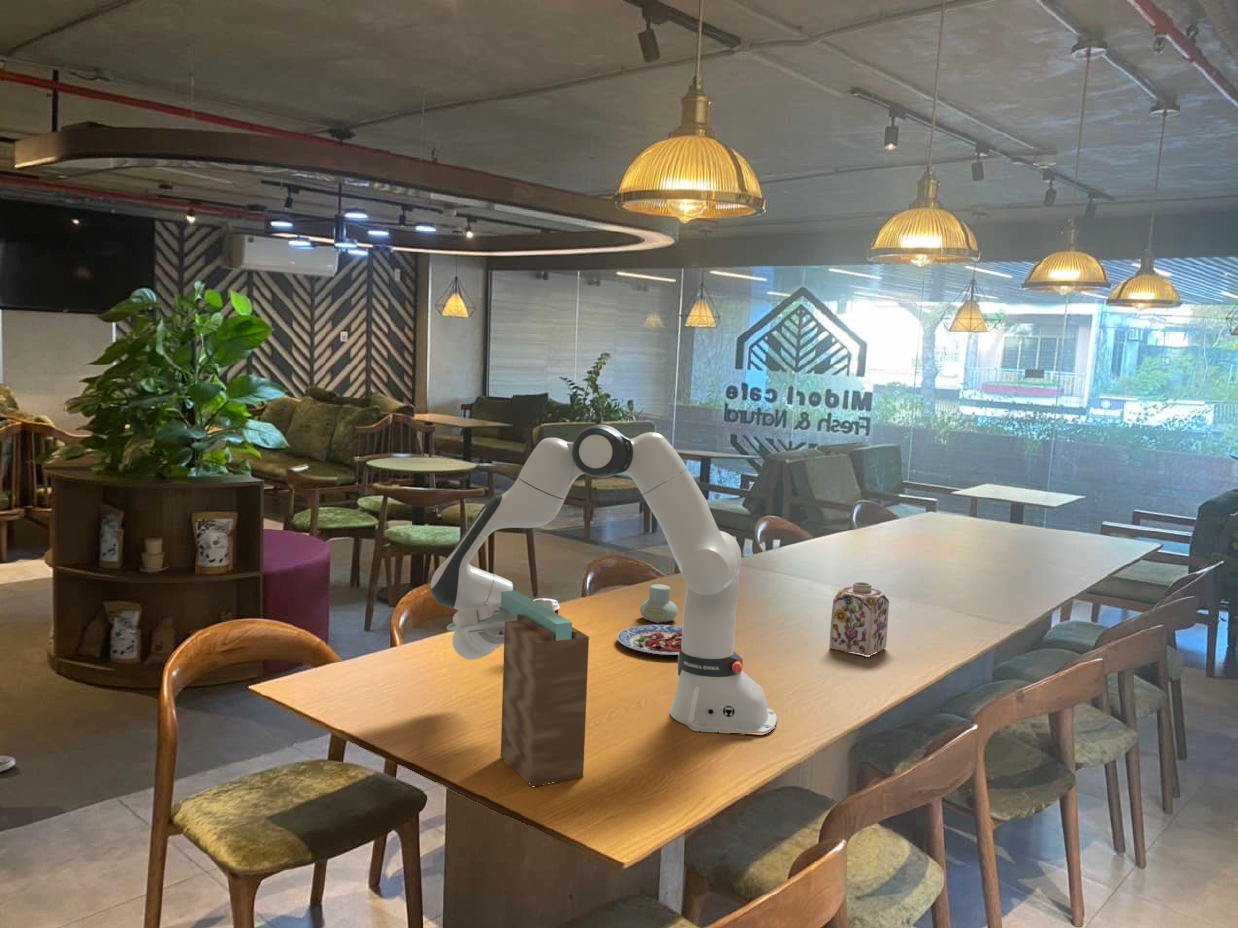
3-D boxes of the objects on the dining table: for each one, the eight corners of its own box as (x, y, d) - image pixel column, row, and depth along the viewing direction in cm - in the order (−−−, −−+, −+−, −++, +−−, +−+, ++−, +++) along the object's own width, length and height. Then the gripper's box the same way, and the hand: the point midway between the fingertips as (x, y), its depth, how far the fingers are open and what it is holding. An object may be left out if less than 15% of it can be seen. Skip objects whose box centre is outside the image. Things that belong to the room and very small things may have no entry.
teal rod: (500, 606, 188) (501, 591, 187) (514, 605, 189) (515, 590, 189) (556, 640, 167) (556, 624, 167) (571, 638, 169) (572, 622, 168)
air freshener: (636, 621, 276) (637, 587, 275) (644, 614, 284) (645, 581, 282) (673, 626, 273) (675, 592, 272) (680, 619, 281) (681, 585, 279)
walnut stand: (500, 757, 180) (504, 615, 177) (548, 748, 185) (553, 610, 182) (532, 787, 168) (537, 636, 165) (583, 777, 173) (589, 630, 170)
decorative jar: (869, 659, 250) (874, 591, 248) (827, 649, 257) (832, 583, 255) (887, 649, 260) (892, 583, 258) (846, 640, 267) (851, 576, 265)
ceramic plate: (714, 636, 266) (715, 625, 265) (714, 665, 240) (715, 654, 240) (621, 629, 268) (622, 619, 268) (611, 658, 243) (612, 646, 243)
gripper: (441, 615, 191) (464, 594, 180) (535, 604, 201) (562, 585, 190) (446, 646, 189) (469, 627, 178) (540, 634, 199) (568, 616, 188)
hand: (518, 605), depth 184 cm, fingers open, 8 cm apart
